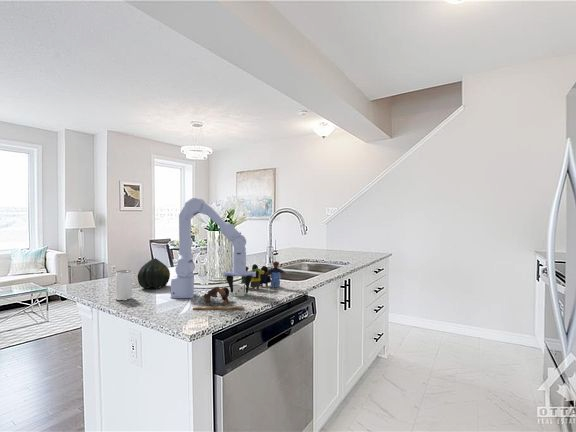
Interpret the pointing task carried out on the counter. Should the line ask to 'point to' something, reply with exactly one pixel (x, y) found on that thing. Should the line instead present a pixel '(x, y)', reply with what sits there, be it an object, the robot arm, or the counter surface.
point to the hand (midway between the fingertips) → (239, 292)
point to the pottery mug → (213, 293)
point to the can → (123, 285)
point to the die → (239, 289)
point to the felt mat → (239, 296)
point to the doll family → (264, 276)
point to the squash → (153, 274)
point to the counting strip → (218, 308)
